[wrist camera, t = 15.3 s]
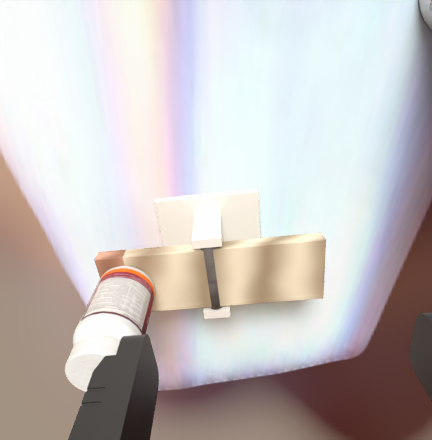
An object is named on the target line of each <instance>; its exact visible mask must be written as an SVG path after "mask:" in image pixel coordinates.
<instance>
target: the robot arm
mask: <svg viewBox="0 0 432 440" xmlns="http://www.w3.org/2000/svg"><path fill="white" fill-rule="evenodd" d="M419 3H420V10H421V13H422V16H423V18H424V21H425V22H426V24H427V25H428V26H429V28H430V29H431V30H432V0H419ZM410 360H411V364H412V367H413V369H414V371H415V373H416V375H417V377H418V378H419V380H420V382H421V384H422V385H423V387H424V389H425V390H426V392H427V394H428V395H429V397H430V399H431V401H432V313H422V314H419V315H418V316H417V318H416V322H415V327H414V332H413V336H412V341H411V346H410ZM158 384H159V375H158V367H157V363H156V360H155V356H154V353H153V349H152V345H151V342H150V338H149V336H148V335H147V334H144V335H132V336H123V337H122V338H121V340H120V343H119V346H118V349H117V353H116V355H109V356H105V357H104V358H103V359H102V361H101V362H100V363H99V364H98V366H97V367H96V368H95V369H94V371H93V373H92V376H91V378H90V381H89V384H88V387H87V392H85V395H84V398H83V400H82V406H81V407H80V409H79V412H78V414H77V417H76V420H75V423H74V425H73V428H72V431H71V434H70V436H69V439H68V440H150V435H151V429H152V423H153V417H154V411H155V405H156V399H157V392H158Z"/></svg>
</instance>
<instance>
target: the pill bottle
mask: <svg viewBox="0 0 432 440" xmlns="http://www.w3.org/2000/svg"><path fill="white" fill-rule="evenodd" d="M154 296H155V287H154V284H153V282H152V280H151V279H150V277H149V276H148V275H147V274H146V273H144V272H143V271H141V270H139V269H137V268H134V267H130V266H119V267H115V268H112V269H110V270H108V271H107V272H105V273H104V274H103V275H102V277H101V278H100V280H99V282H98V284H97V286H96V288H95V290H94V293H93V295H92V297H91V299H90V301H89V303H88V305H87V307H86V309H85V311H84V314H83V316H82V318H81V320H80V322H79V323H78V325H77V328H76V330H75V332H74V336H73V345H74V347H73V349H72V351H71V354H70V356H69V358H68V361H67V363H66V366H65V373H66V376H67V378H68V380H69V381H70V382H71V383H72V384H73V385H74V386H76V387H77V388H79V389H81V390H83V391H85V392H87V387H88V384H89V381H90V378H91V376H92V373H93V371H94V369H95V368H96V367H97V366H98V364H99V363H100V362H101V361H102V359H103V358H104V357H105V356H109V355H116V353H117V349H118V346H119V343H120V340H121V338H122V337H123V336H132V335H144V334H145V333H146V329H147V325H148V321H149V317H150V313H151V309H152V305H153V301H154Z"/></svg>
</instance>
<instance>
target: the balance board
mask: <svg viewBox="0 0 432 440" xmlns="http://www.w3.org/2000/svg"><path fill="white" fill-rule="evenodd" d="M325 247H326V240H325V238H324V236H323V234H322V233H314V234H302V235H291V236H280V237H269V238H257V239H246V240H235V241H223V242H222V247H211V248H200V249H193V247H192V244H189V245H178V246H167V247H156V248H144V249H133V250H119V251H108V252H99V253H98V255H97V257H96V259H95V263H96V266H97V269H98V272H99V276H100V278H101V277H102V275H103V274H104V273H105V272H107V271H108V270H110V269H112V268H115V267H119V266H130V267H134V268H137V269H139V270H141V271H143V272H144V273H146V274H147V275H148V276H149V277H150V279H151V280H152V282H153V284H154V287H155V296H154V301H153V305H152V309H151V312H153V311H166V310H179V309H192V308H204V307H210V308H211V309H214V310H216V309H220V308H222V307H223V306H230V305H243V304H256V303H268V302H281V301H294V300H307V299H320V298H323V291H324V269H325Z"/></svg>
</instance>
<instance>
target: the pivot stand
mask: <svg viewBox="0 0 432 440" xmlns="http://www.w3.org/2000/svg"><path fill="white" fill-rule="evenodd" d="M154 203H155V208H156V213H157V218H158V222H159V227H160V232H161V236H162V241H163V246H164V247H167V246H178V245H189V244H192V247H193V249H200V248H211V247H222V242H223V241H235V240H246V239H257V238H261V231H260V213H259V195H258V189H248V190H238V191H228V192H218V193H208V194H198V195H187V196H177V197H167V198H157V199H155V202H154ZM203 313H204V319H212V318H224V317H230V306H223V307H222V308H220V309H216V310H214V309H211V308H210V307H204V310H203Z"/></svg>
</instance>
